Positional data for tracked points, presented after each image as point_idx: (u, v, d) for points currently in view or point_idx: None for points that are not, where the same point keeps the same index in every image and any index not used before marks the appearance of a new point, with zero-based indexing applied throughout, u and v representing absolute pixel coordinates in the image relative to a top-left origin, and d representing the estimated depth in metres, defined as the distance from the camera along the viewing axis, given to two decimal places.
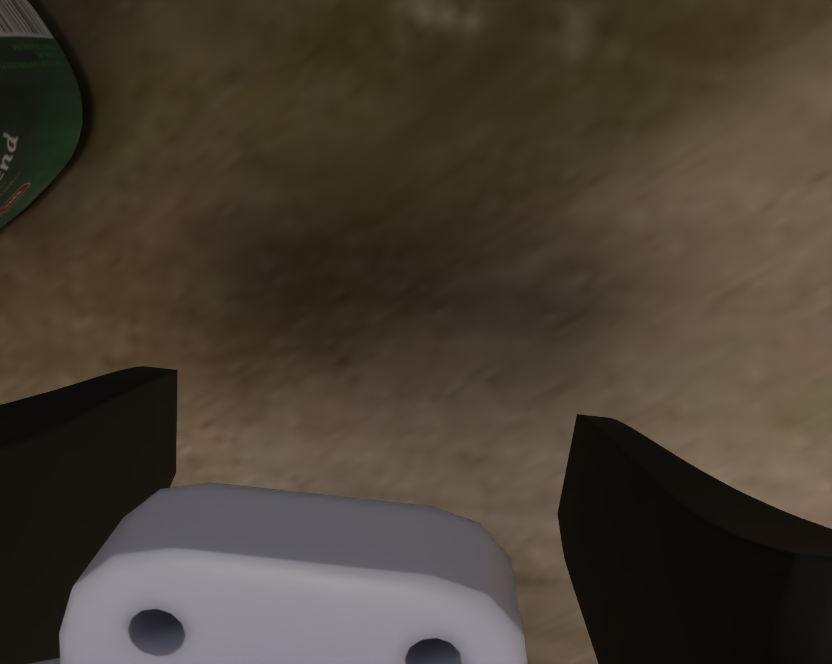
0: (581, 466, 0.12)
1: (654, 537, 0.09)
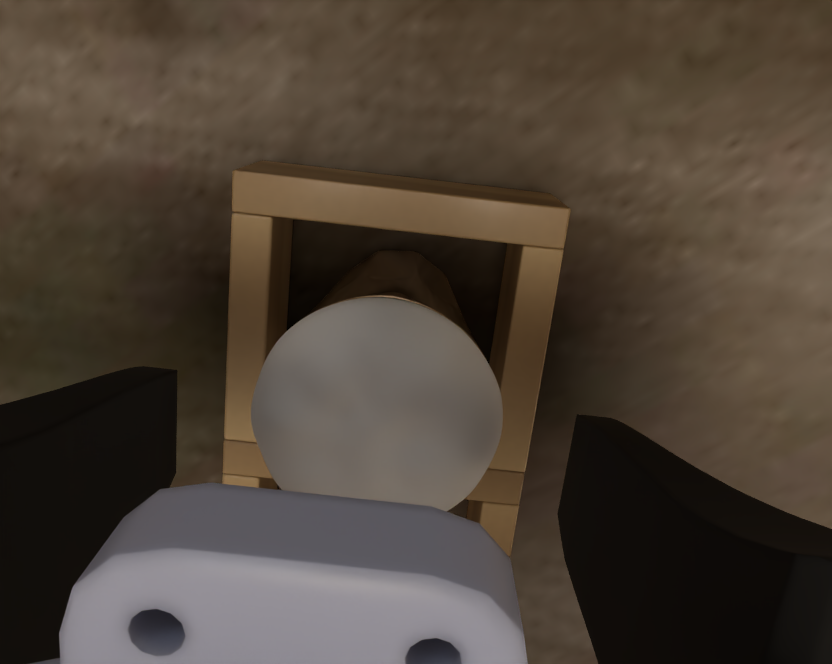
0: (581, 466, 0.12)
1: (654, 537, 0.09)
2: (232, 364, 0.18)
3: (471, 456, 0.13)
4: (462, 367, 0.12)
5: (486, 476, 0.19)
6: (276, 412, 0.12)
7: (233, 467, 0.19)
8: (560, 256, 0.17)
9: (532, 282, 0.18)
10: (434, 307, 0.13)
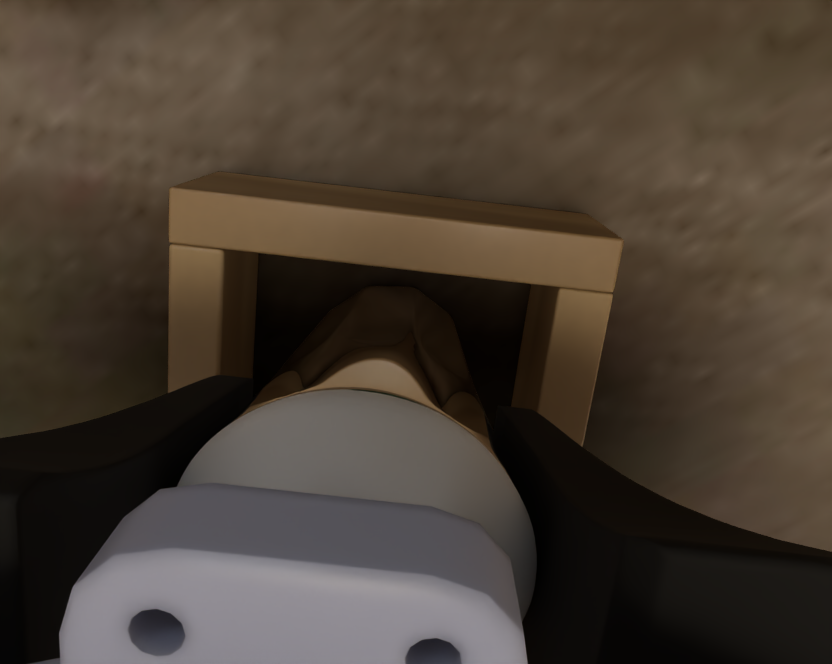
0: None
1: (542, 525, 0.09)
2: None
3: None
4: (477, 503, 0.08)
5: None
6: None
7: None
8: (608, 302, 0.13)
9: (570, 336, 0.13)
10: (434, 400, 0.09)
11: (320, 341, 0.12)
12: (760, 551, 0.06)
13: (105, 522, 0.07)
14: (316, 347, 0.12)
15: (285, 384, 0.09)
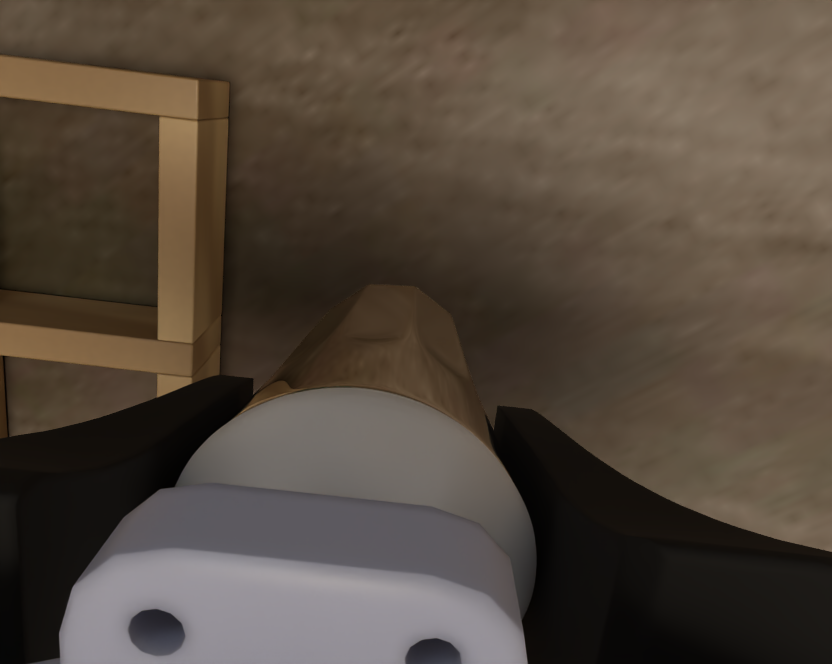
0: None
1: (542, 525, 0.09)
2: None
3: None
4: (476, 501, 0.08)
5: (157, 347, 0.20)
6: None
7: None
8: (195, 127, 0.18)
9: (172, 153, 0.19)
10: (434, 398, 0.09)
11: (320, 339, 0.12)
12: (759, 551, 0.06)
13: (105, 522, 0.07)
14: (315, 345, 0.11)
15: (284, 382, 0.09)
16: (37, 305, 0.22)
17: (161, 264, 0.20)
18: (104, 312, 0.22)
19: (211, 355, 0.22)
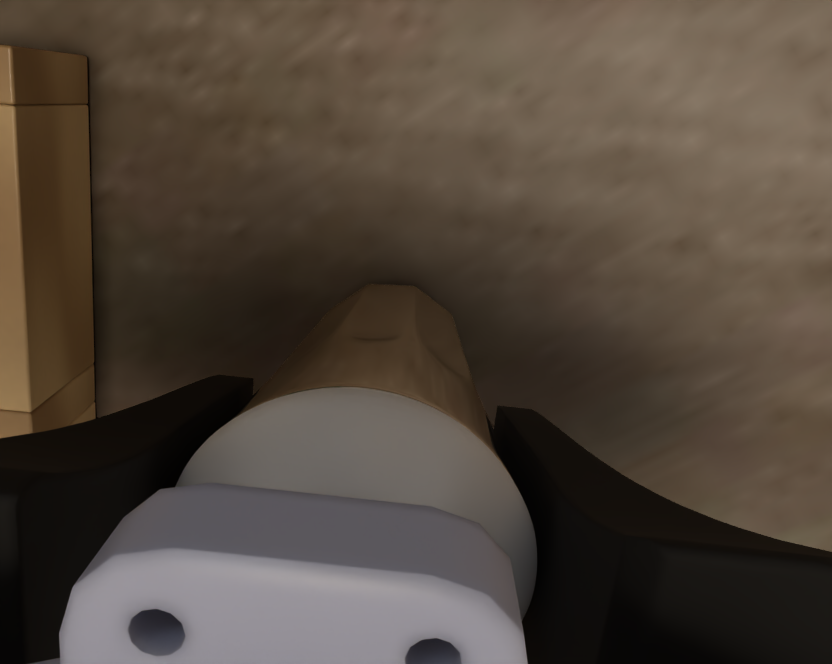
0: None
1: (542, 525, 0.09)
2: None
3: None
4: (477, 500, 0.08)
5: None
6: None
7: None
8: (12, 115, 0.13)
9: None
10: (434, 397, 0.09)
11: (320, 339, 0.12)
12: (760, 551, 0.06)
13: (105, 522, 0.07)
14: (316, 345, 0.11)
15: (285, 381, 0.09)
16: None
17: None
18: None
19: (76, 419, 0.17)
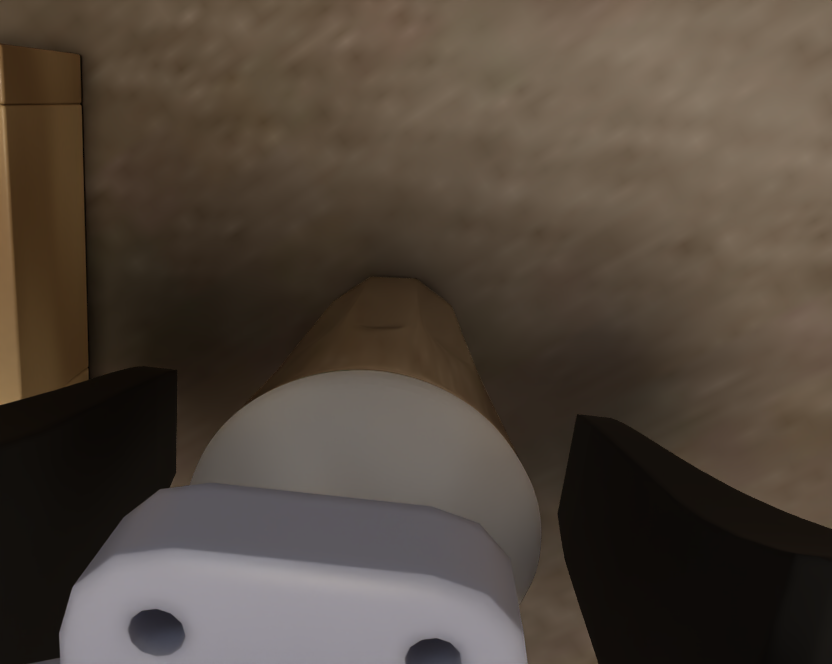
0: (581, 466, 0.12)
1: (654, 537, 0.09)
2: None
3: None
4: (485, 476, 0.08)
5: None
6: None
7: None
8: (2, 114, 0.13)
9: None
10: (443, 380, 0.09)
11: (328, 328, 0.12)
12: None
13: None
14: (325, 333, 0.12)
15: (300, 366, 0.10)
16: None
17: None
18: None
19: None
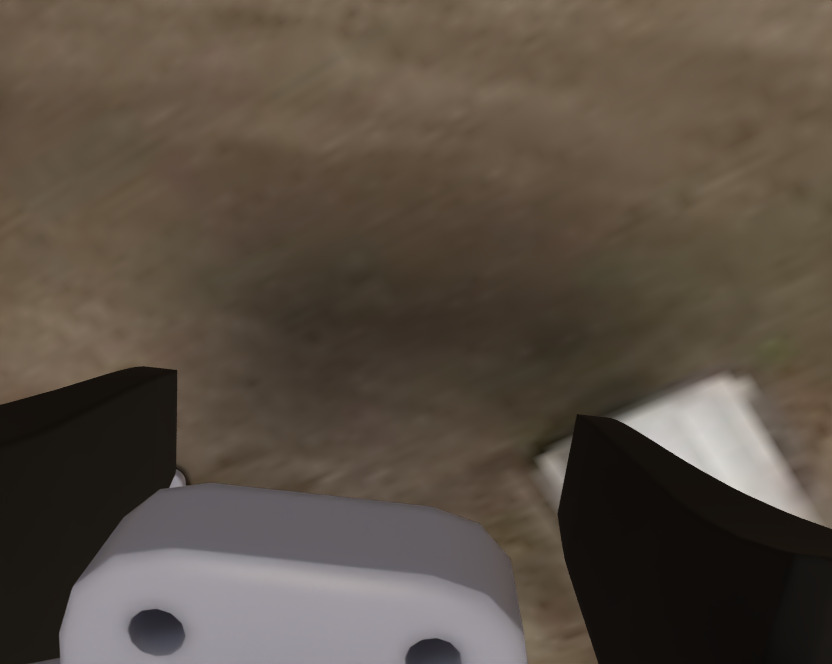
0: (581, 466, 0.12)
1: (654, 537, 0.09)
2: None
3: None
4: None
5: None
6: None
7: None
8: None
9: None
10: None
11: None
12: None
13: None
14: None
15: None
16: None
17: None
18: None
19: None
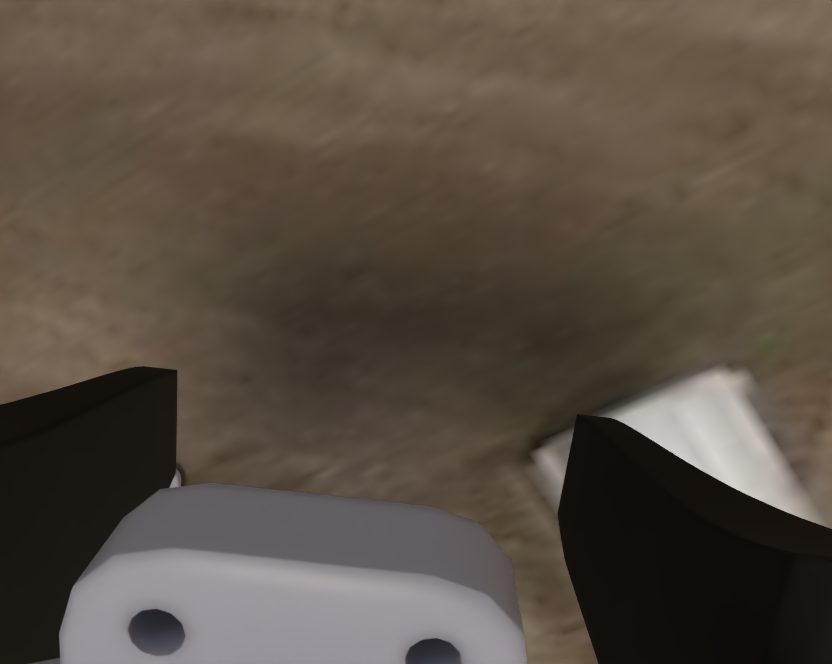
0: (581, 466, 0.12)
1: (654, 537, 0.09)
2: None
3: None
4: None
5: None
6: None
7: None
8: None
9: None
10: None
11: None
12: None
13: None
14: None
15: None
16: None
17: None
18: None
19: None
